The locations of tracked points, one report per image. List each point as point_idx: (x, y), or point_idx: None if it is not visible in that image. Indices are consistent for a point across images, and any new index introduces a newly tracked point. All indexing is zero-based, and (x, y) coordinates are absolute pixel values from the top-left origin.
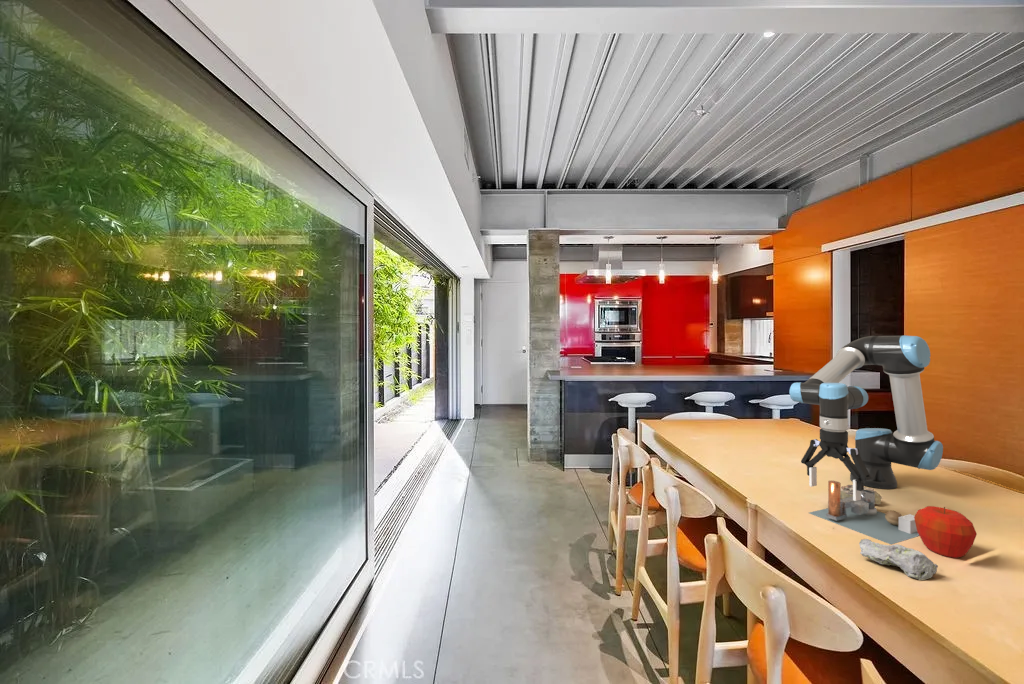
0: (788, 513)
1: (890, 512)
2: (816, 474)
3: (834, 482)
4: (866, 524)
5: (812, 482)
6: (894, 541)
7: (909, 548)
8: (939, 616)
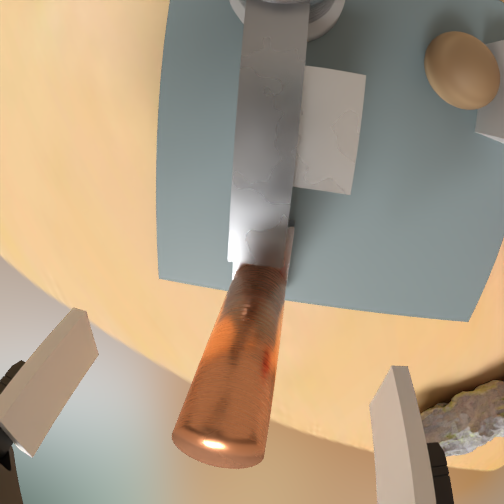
0: (124, 302)
1: (470, 86)
2: (36, 372)
3: (222, 454)
4: (374, 190)
5: (83, 368)
6: (477, 287)
7: (499, 432)
8: (484, 451)
